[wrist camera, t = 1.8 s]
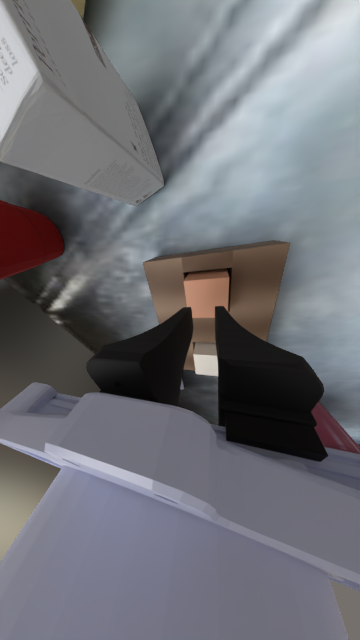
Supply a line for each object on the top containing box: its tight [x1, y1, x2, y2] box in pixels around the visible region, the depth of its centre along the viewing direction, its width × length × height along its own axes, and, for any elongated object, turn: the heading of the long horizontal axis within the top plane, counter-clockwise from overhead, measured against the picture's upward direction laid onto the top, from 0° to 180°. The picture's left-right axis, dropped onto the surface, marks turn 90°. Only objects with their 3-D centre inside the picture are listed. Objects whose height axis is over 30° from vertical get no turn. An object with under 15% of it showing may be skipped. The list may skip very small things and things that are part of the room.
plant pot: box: [311, 401, 360, 454], centre depth 23 cm, size 14×14×13 cm
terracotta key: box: [184, 269, 229, 318], centre depth 15 cm, size 4×4×4 cm
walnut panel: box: [143, 241, 290, 371], centre depth 19 cm, size 18×14×4 cm
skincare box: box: [0, 0, 164, 206], centre depth 9 cm, size 6×4×12 cm
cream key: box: [193, 342, 218, 376], centre depth 20 cm, size 4×4×4 cm
